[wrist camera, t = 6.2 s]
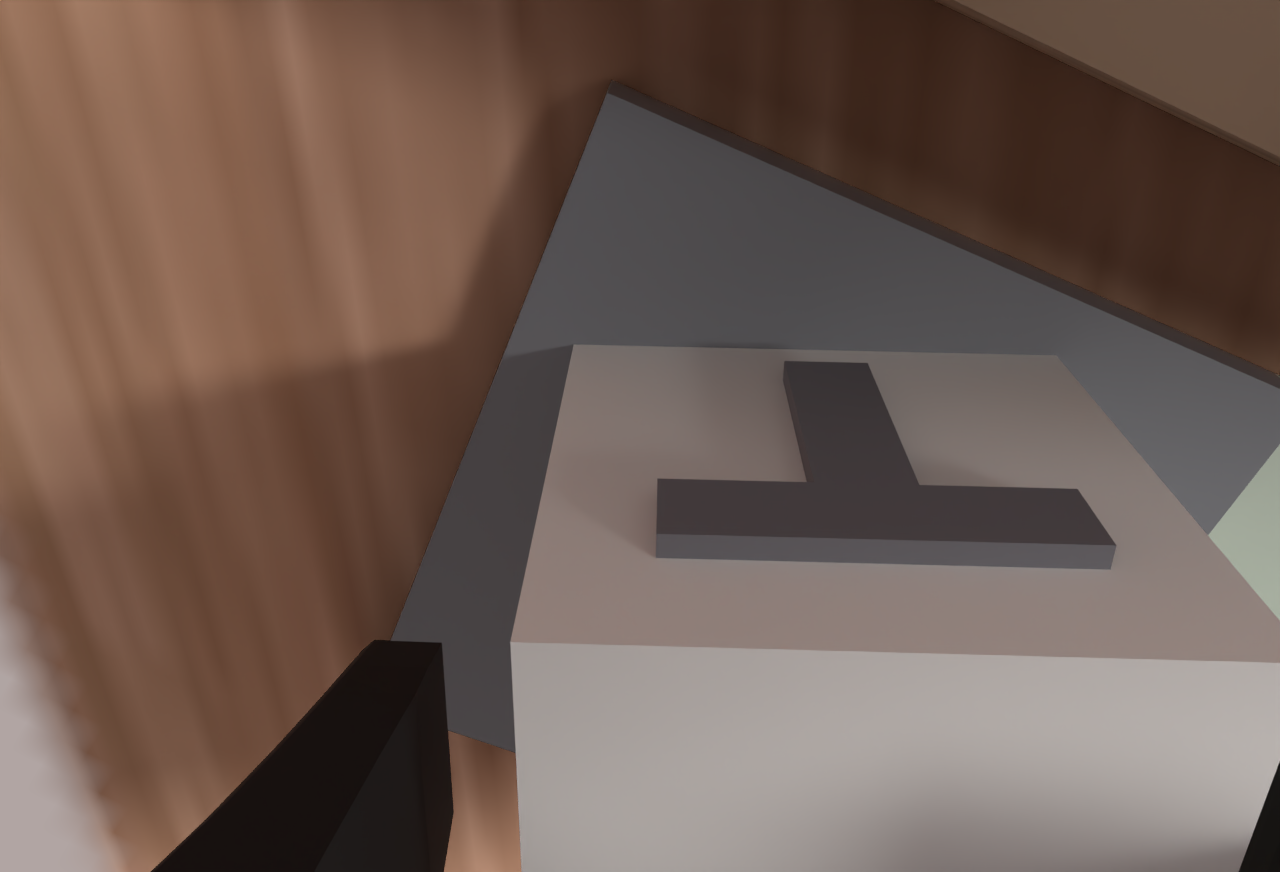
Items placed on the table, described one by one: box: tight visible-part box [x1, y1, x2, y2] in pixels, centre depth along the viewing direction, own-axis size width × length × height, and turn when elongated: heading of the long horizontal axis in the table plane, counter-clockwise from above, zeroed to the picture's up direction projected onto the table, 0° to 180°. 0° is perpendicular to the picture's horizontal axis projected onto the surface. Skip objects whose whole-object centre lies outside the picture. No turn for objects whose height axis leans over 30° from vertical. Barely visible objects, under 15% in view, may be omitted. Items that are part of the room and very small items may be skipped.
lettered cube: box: [510, 344, 1280, 872], centre depth 10 cm, size 5×5×5 cm
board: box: [390, 80, 1280, 753], centre depth 13 cm, size 16×8×1 cm, turn 67°
